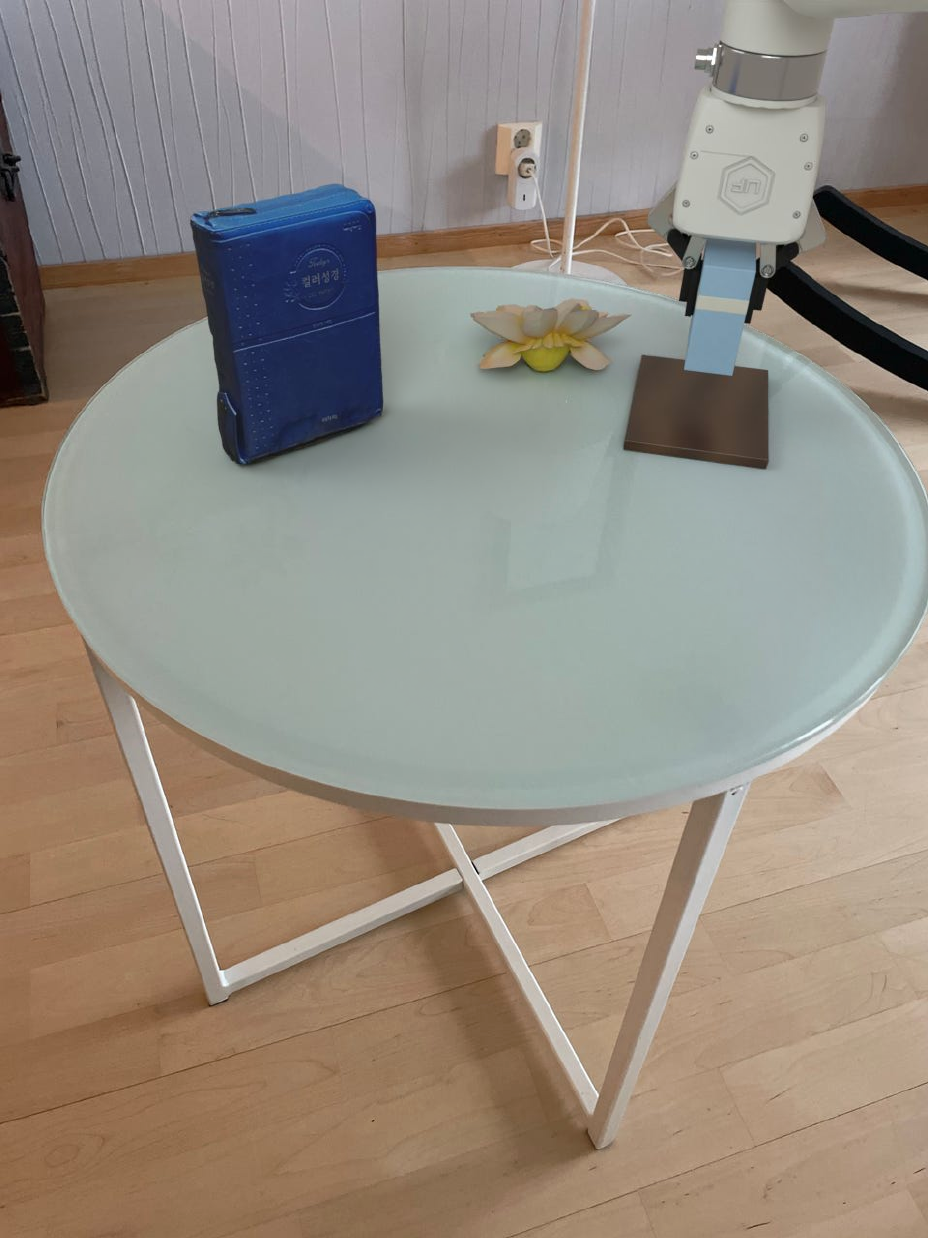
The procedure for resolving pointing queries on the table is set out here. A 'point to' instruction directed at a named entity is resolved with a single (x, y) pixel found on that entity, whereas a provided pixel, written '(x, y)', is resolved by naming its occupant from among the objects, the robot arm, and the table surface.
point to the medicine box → (720, 306)
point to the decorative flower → (546, 334)
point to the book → (292, 318)
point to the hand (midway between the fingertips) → (718, 310)
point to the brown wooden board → (700, 413)
